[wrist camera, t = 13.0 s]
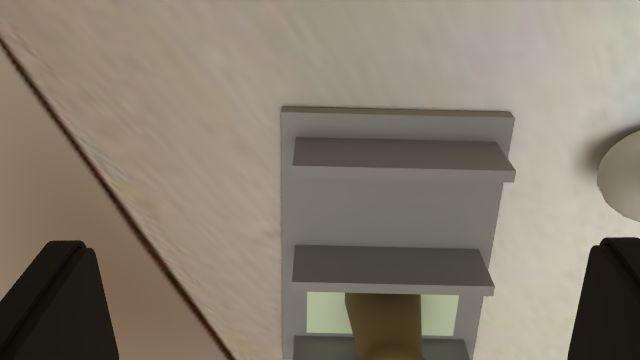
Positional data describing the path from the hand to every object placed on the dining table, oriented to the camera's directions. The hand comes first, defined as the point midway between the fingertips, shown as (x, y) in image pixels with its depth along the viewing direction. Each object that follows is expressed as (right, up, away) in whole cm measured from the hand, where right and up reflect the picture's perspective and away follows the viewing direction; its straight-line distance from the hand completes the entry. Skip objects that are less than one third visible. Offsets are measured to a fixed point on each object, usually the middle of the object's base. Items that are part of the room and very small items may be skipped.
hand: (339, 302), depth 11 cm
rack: (+5, -3, +35) cm, 36 cm away
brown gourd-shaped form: (+5, -7, +36) cm, 37 cm away
